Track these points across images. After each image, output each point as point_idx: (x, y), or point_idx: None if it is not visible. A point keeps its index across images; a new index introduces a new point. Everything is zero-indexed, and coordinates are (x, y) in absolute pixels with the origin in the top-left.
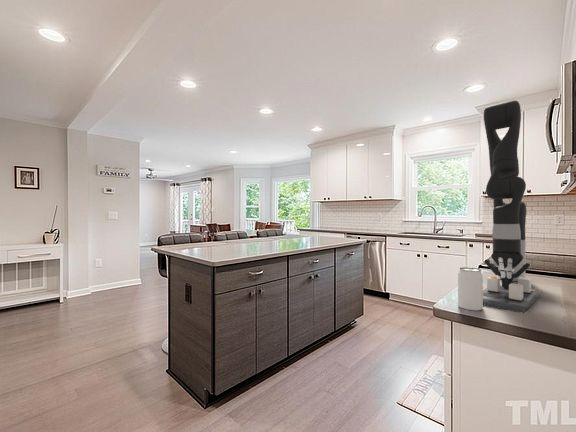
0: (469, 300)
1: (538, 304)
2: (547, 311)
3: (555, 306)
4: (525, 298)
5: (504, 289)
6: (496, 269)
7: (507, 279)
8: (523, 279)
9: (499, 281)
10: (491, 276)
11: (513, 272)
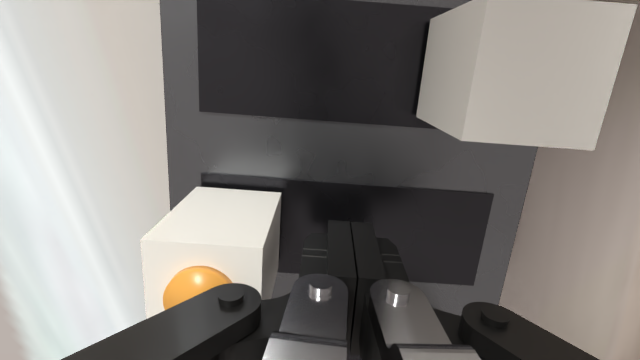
0: None
1: (526, 204)
2: (556, 330)
3: (624, 182)
4: (467, 299)
5: (302, 100)
6: (186, 355)
7: (359, 348)
8: (525, 143)
9: (268, 251)
10: (169, 286)
11: (445, 342)
